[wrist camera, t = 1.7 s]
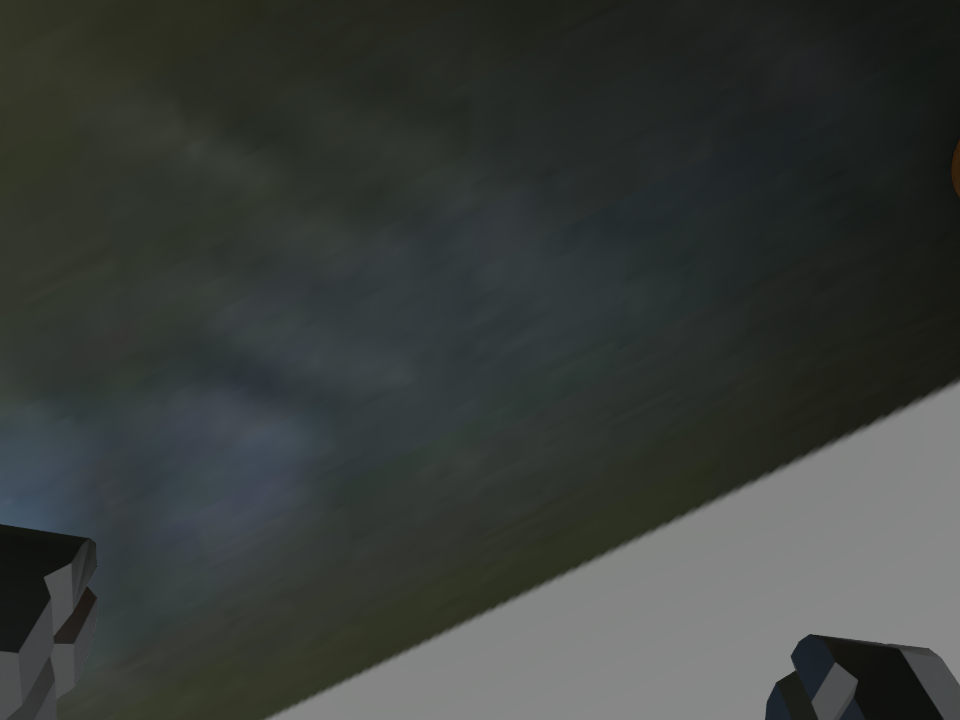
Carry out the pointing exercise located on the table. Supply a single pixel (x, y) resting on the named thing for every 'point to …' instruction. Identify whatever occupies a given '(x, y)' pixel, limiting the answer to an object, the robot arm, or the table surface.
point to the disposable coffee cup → (956, 169)
